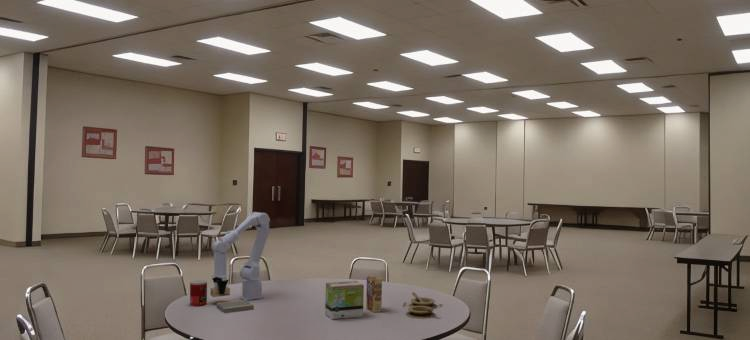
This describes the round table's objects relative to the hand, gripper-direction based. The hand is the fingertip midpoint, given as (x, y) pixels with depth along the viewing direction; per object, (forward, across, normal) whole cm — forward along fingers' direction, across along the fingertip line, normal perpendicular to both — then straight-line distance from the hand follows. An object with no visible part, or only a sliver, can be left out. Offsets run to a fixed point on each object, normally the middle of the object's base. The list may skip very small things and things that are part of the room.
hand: (220, 293), depth 279 cm
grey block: (-2, 0, 0) cm, 2 cm away
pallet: (+1, 0, 0) cm, 1 cm away
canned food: (+5, -3, -10) cm, 11 cm away
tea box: (+5, +52, +41) cm, 66 cm away
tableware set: (+6, +62, +77) cm, 99 cm away
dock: (+5, +14, +3) cm, 15 cm away
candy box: (+5, +50, +58) cm, 77 cm away
